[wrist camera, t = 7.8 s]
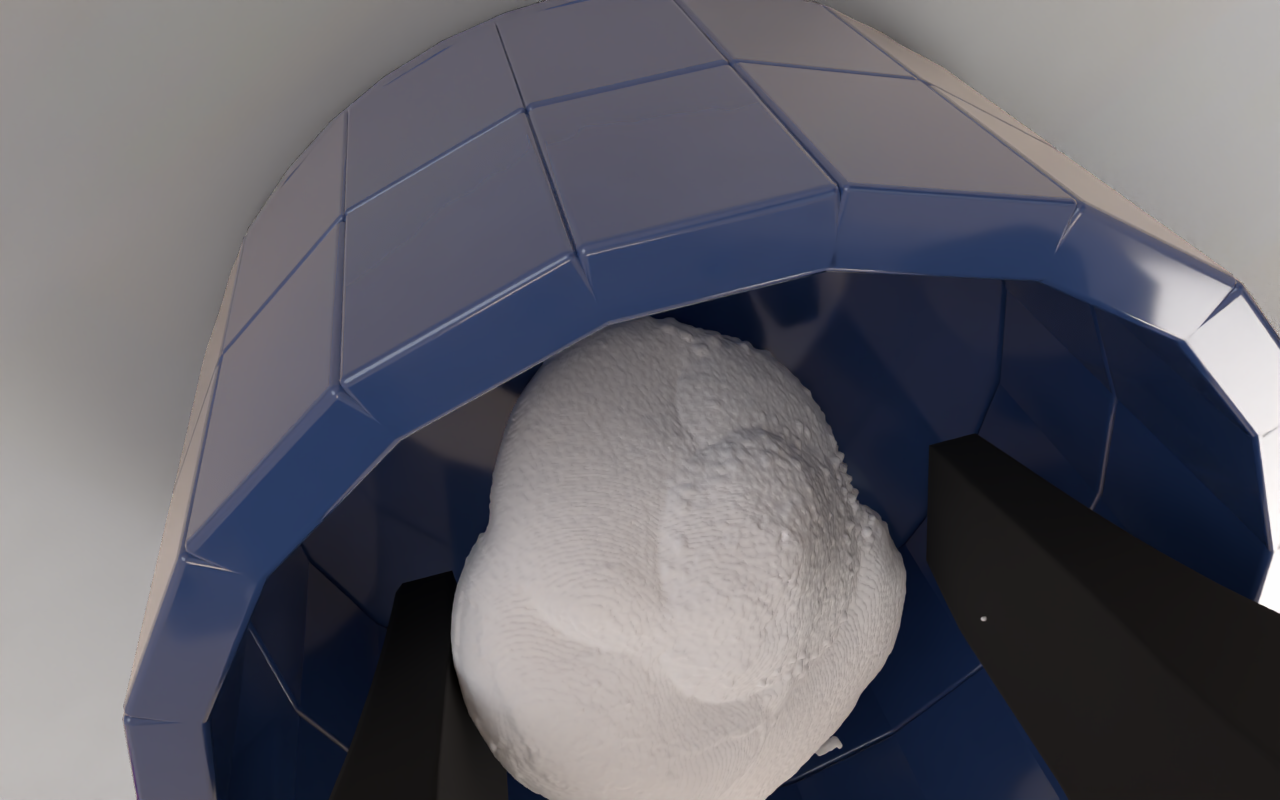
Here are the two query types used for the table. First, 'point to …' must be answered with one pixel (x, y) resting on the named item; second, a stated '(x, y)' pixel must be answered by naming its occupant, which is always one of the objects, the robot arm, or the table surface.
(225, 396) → the pot
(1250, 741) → the robot arm
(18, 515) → the table surface
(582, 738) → the dumpling
